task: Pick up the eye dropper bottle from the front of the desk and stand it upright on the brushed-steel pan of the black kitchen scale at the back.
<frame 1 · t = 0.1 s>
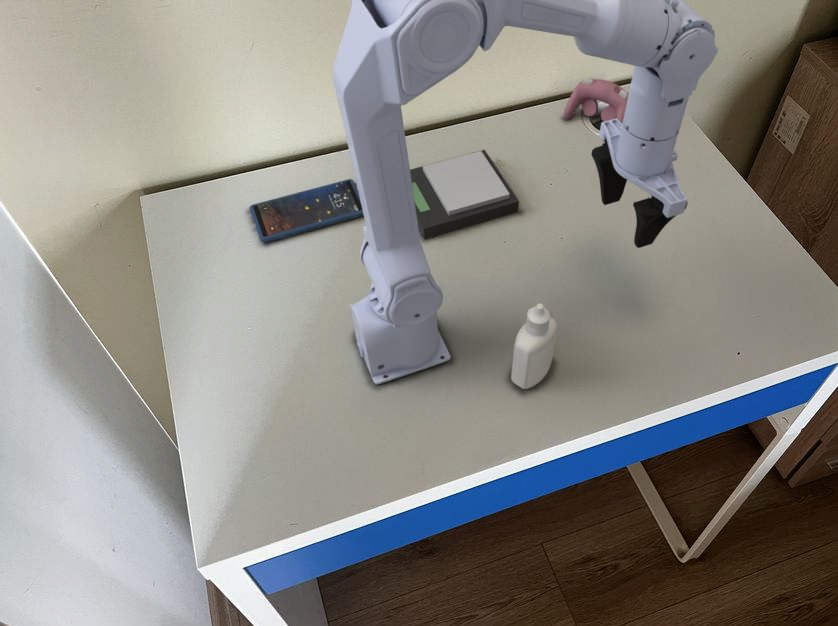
hand: (626, 222, 82), 10 cm above the table, tool pointing down, fingers open, 7 cm apart
smartphone: (309, 213, 98), on the table
scale: (455, 198, 100), on the table
video game controller: (596, 121, 110), on the table
eye dropper bottle: (531, 372, 82), on the table
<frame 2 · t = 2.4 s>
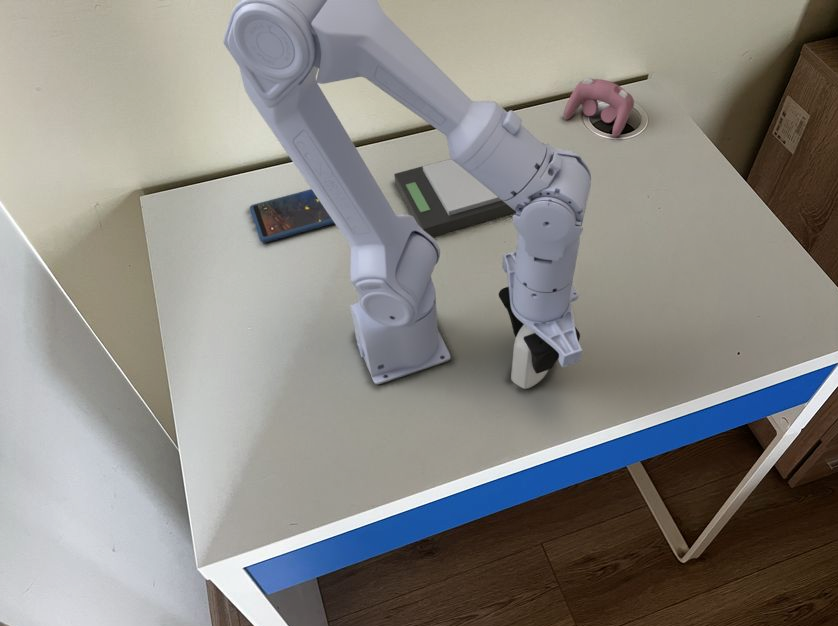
hand: (533, 352, 79), 4 cm above the table, tool pointing down, fingers closed on eye dropper bottle, 4 cm apart
eye dropper bottle: (531, 372, 82), on the table, touching gripper
everything else where it was.
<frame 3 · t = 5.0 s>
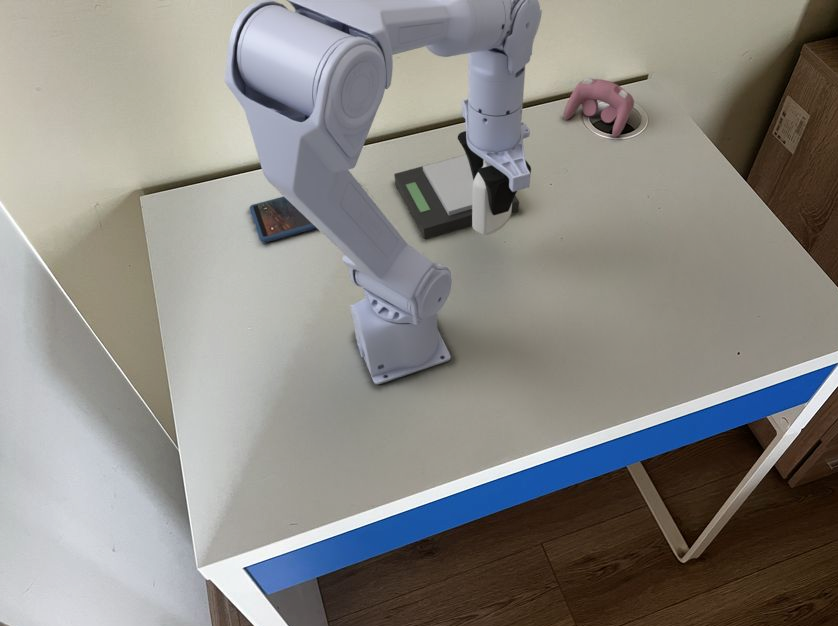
hand: (492, 198, 84), 10 cm above the table, tool pointing down, fingers closed on eye dropper bottle, 4 cm apart
eye dropper bottle: (491, 223, 87), point 6 cm above the table, touching gripper
everything else where it was.
when the fingers open (7 cm above the table, at t = 7.4 s): eye dropper bottle stays where it is, resting on scale.
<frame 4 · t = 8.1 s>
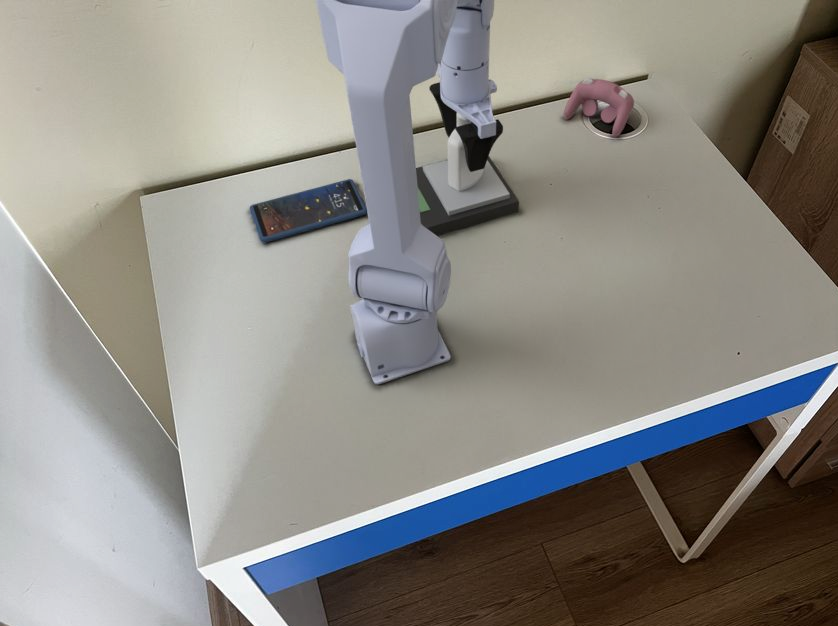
hand: (465, 151, 94), 8 cm above the table, tool pointing down, fingers open, 7 cm apart
eye dropper bottle: (466, 180, 98), point 3 cm above the table, touching scale
everything else where it was.
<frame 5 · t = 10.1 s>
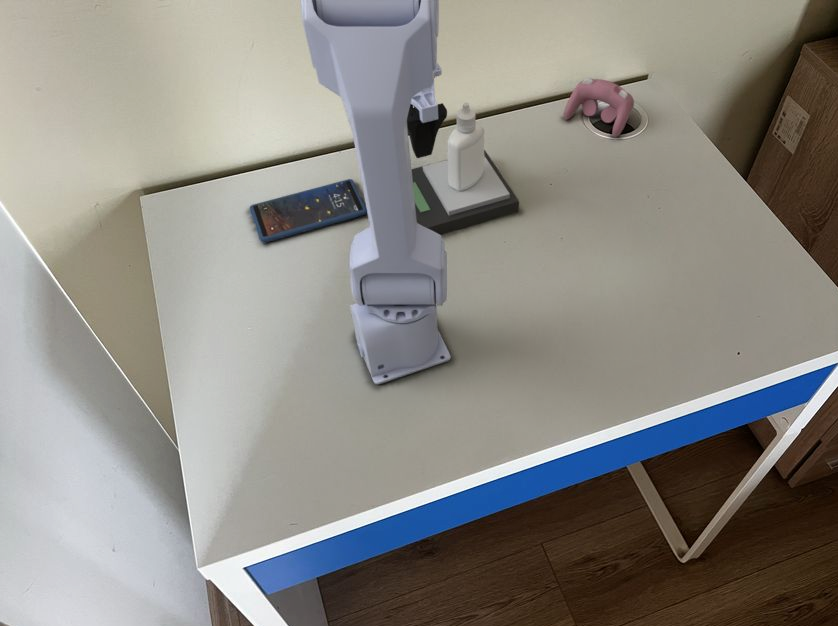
hand: (413, 137, 91), 10 cm above the table, tool pointing down, fingers open, 7 cm apart
nothing on the table moved.
at the end: eye dropper bottle inside the target area on the scale (0.1 cm from its centre), point 2.6 cm above the scale's base; eye dropper bottle tilted 0°; the gripper is holding nothing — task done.
